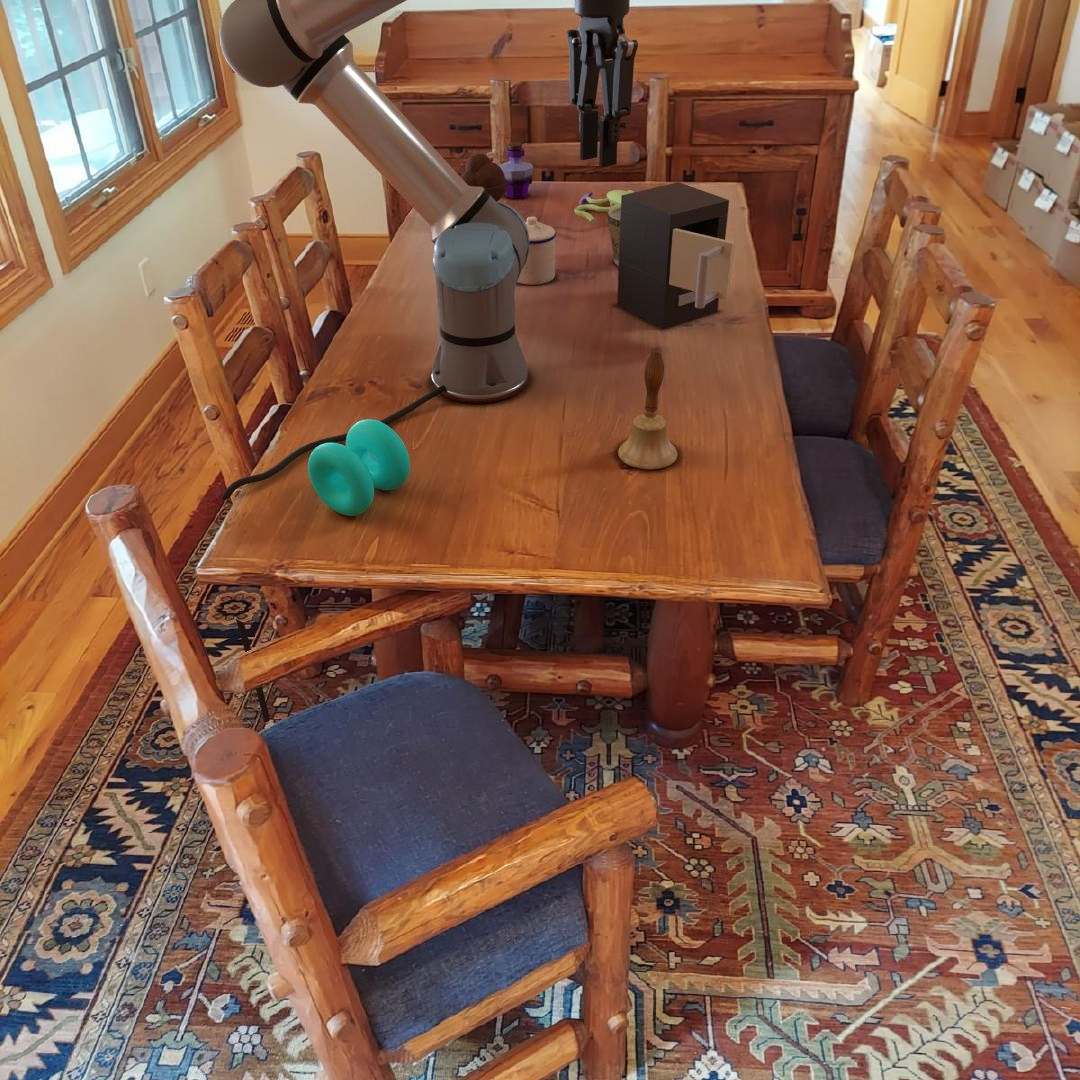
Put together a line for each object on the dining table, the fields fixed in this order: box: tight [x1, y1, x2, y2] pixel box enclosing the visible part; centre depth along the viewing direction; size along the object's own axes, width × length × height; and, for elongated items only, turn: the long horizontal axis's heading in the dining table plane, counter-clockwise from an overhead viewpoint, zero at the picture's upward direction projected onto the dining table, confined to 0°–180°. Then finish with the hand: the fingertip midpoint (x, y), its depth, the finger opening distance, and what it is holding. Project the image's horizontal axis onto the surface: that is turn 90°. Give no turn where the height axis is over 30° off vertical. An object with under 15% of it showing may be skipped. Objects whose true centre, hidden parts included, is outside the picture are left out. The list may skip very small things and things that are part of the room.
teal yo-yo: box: [307, 418, 411, 517], centre depth 123 cm, size 10×10×10 cm
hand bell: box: [617, 346, 679, 470], centre depth 130 cm, size 8×8×16 cm
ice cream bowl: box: [460, 152, 508, 202], centre depth 209 cm, size 11×11×15 cm
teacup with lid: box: [517, 216, 557, 286], centre depth 185 cm, size 12×9×12 cm
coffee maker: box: [616, 181, 730, 330], centre depth 169 cm, size 14×13×20 cm
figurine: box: [573, 189, 635, 225], centre depth 214 cm, size 18×27×6 cm
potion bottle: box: [497, 142, 534, 200], centre depth 227 cm, size 9×9×12 cm
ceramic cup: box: [607, 206, 621, 267], centre depth 192 cm, size 13×10×10 cm
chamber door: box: [669, 228, 735, 308], centre depth 156 cm, size 7×11×9 cm, turn 51°
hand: (598, 161), depth 143 cm, fingers open, 4 cm apart
